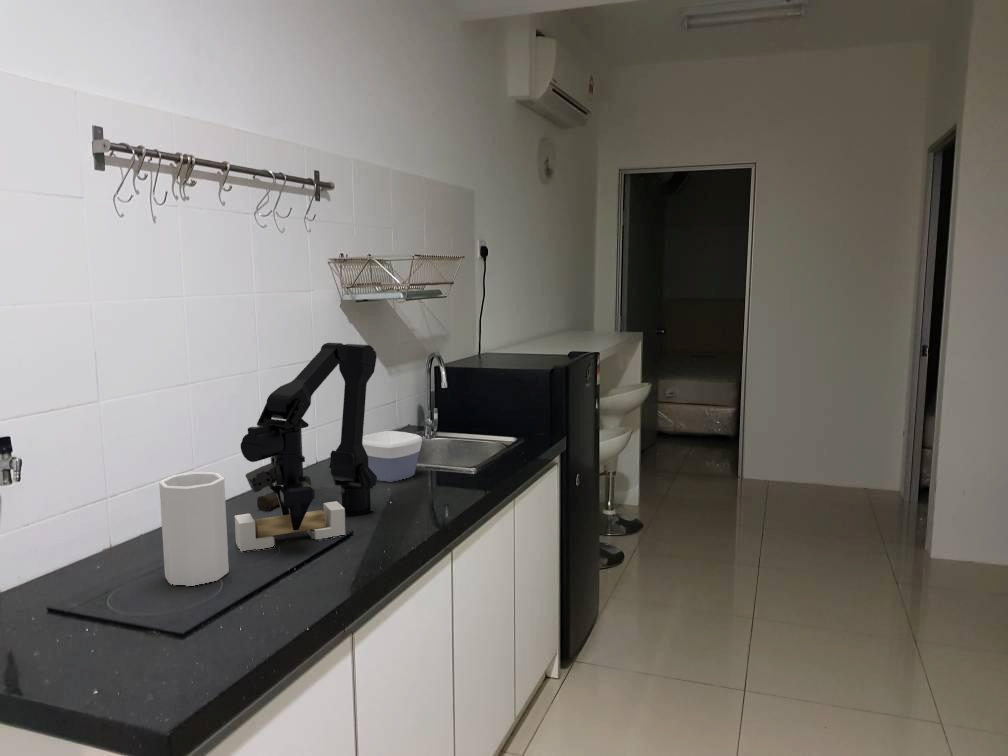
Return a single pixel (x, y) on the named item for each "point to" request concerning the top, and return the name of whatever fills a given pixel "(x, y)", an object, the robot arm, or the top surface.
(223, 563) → the cup
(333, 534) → the stepped white cradle
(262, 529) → the rail
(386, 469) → the bowl
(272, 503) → the brown wooden log
